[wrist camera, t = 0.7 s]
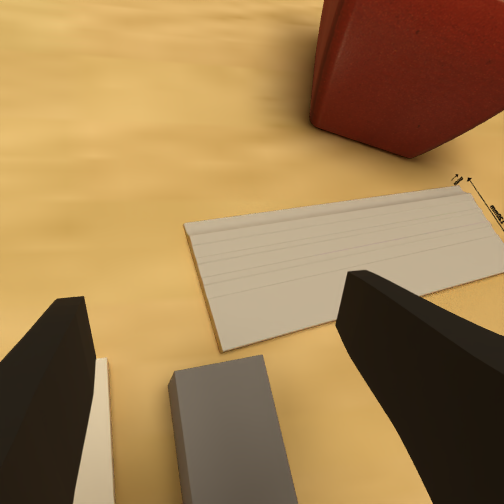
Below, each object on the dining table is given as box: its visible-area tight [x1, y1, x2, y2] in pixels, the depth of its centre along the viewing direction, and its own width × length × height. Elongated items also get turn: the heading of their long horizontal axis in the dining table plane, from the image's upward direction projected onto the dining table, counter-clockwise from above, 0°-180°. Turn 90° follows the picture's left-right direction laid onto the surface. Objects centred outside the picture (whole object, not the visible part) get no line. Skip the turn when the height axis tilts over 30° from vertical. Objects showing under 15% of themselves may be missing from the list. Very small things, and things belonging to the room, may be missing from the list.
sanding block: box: [168, 355, 298, 504], centre depth 21 cm, size 8×5×5 cm, turn 14°
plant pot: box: [309, 0, 504, 158], centre depth 36 cm, size 19×19×17 cm
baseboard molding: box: [183, 174, 504, 353], centre depth 33 cm, size 31×3×12 cm
